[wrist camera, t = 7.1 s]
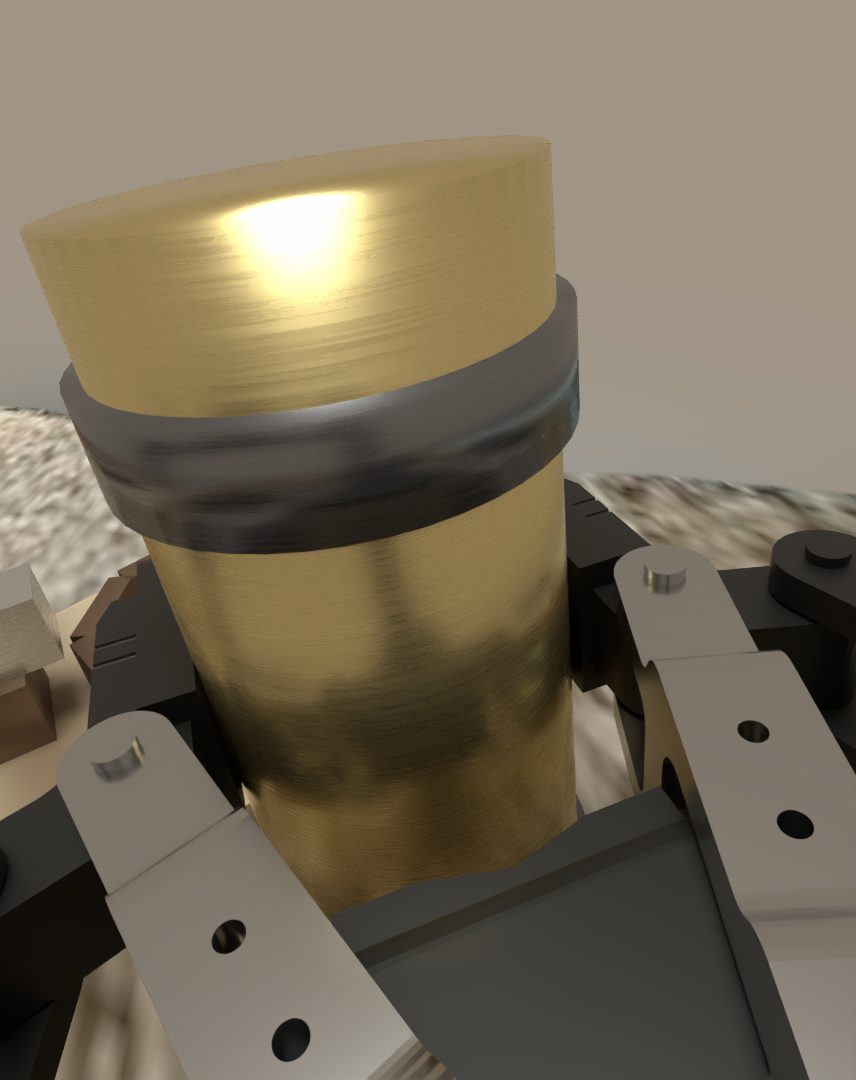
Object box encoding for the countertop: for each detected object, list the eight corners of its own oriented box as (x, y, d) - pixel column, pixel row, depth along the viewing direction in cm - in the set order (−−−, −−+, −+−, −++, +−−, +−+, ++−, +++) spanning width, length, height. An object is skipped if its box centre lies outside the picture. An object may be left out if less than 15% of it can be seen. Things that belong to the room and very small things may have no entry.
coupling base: (34, 1007, 15) (-36, 925, 13) (-96, 723, 23) (-149, 650, 21) (560, 592, 24) (556, 512, 22) (336, 492, 32) (321, 428, 30)
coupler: (455, 1200, 11) (163, 268, 4) (267, 960, 15) (-73, 232, 8) (649, 942, 14) (691, 119, 7) (453, 792, 18) (339, 144, 10)
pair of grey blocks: (-97, 747, 17) (-142, 685, 16) (-121, 691, 19) (-164, 632, 18) (414, 465, 26) (405, 413, 25) (361, 446, 28) (351, 397, 27)
